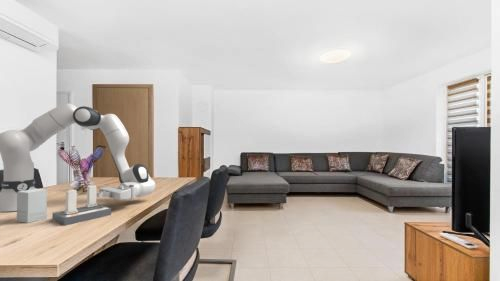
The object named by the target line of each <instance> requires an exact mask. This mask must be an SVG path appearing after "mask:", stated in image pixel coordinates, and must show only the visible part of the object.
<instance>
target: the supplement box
mask: <svg viewBox="0 0 500 281" xmlns="http://www.w3.org/2000/svg"><path fill="white" fill-rule="evenodd" d="M47 204H48V189H43V188H42V189H40V188H37V189H31V190H25V191H19V192H17V211H16V222H18V223H19V222H20V223H26V224H28V223H29V224H30V223H33V222H37V221H40V220H43V219H44V220H45V219H47V216H48V215H47V213H48V209H47V207H48V205H47Z"/></svg>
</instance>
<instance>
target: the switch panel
mask: <svg viewBox="0 0 500 281" xmlns="http://www.w3.org/2000/svg"><path fill="white" fill-rule="evenodd" d="M76 210H78V212H77V213H72V214H64V211H66V209H65V210H59V211H55V212H52V218H51V219H52V220H53V221H54V222H56V223H58V224H60V225H62V226H69V225H73V224H77V223H81V222H86V221H91V220H94V219H95V220H96V219H99V218H104V217H108V216H111V215H112V207H108V206H104V205H101V204H98V203H97V206H93V207H86V205H85V206H80V207H76ZM52 220H51V221H52Z"/></svg>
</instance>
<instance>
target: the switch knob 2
mask: <svg viewBox="0 0 500 281" xmlns="http://www.w3.org/2000/svg"><path fill="white" fill-rule="evenodd" d="M97 189H98V188H97V185H95V184H94V185H87V188H86V204H85V206H86V207H93V206H97V204H98V203H97V196H96V194H97Z"/></svg>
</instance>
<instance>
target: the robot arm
mask: <svg viewBox="0 0 500 281" xmlns="http://www.w3.org/2000/svg"><path fill="white" fill-rule="evenodd" d="M73 124H76V125H78V126H80V127H82V128H84V129H87V130H90V131H96V130H101V132H102V133H103V135H104V138H105V139H106V142H107V144H108V147H109V151H110V152H109V153H110V155H111V157H112V160H113V163H114V165H115V168H116V169H117V173H118V180H119V183H120V184H119V185H118V186H106V187H105V186H104V187H100V188H98V192H96V198H111V199H115V200H116V201H117V200H119V201H121V200H122V201H123V200H135V199H136V197H138V198H139V197H141V198H142V197H145V196H149V195H150V194H153V193H154V192H155V190H156V181H155V180H153V178H152V177H151V176H150V173H149V170H148V168H147V167H146V166H145V165H144V164H141V163H136V164H134V165H132V166H131V167H130V166H129V163H128V161H127V158H126V155H125V152H126V149H127V146H128V144H129V142H130V136H129V133H128V131H127V129H126V127H125V125H124V124H123V123H122V121H121V119H120V118H119V117H118V116H117V115H116V114H114V113H106V114H104V115H103V114H101V113H100V112H99V111H98V110H96V109H94V108H92V107H89V106H86V105H85V106H79V107H77V106H76V105H75V104H74V103H68V102H67V103H64V104H62V105H58V106H57V107H54V108H52V109H50V110H48V111H47V112H45V113H44V114H41V115H40V116H38V117H36V118H34V119H33V120H32V122H31V123H30V124H28V126H26V127H25V128H23V129H20V130H14V129H13V130H12V129H11V130H6V131H3V132H0V156H1V160H2V166H3V180H2V181H1V190H0V212H3V213H4V212H5V213H6V212H17V192H19V191H25V190H31V189H38V188H36V187H35V184H36V179H35V178H34V176H35V163H34V161H33V160H32V157H31V152H33V151H35V150H36V149H38V148H39V147H40V146H42V145H43V144H44V143H46V142H47V141H48V140H49V139H51V137H53V136H54V135H56V134H59V133H60V132H61V131H64V130H65V129H66V128H68V127H70V126H71V125H73Z"/></svg>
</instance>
